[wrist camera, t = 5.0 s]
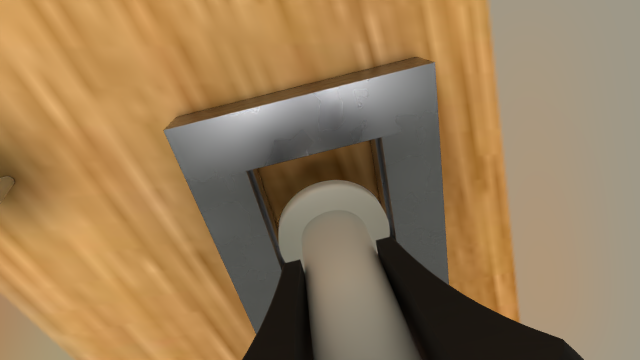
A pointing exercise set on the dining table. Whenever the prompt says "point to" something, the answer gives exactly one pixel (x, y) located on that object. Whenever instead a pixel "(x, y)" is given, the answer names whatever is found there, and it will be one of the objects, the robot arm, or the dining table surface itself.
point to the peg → (345, 273)
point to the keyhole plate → (306, 139)
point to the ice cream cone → (5, 186)
